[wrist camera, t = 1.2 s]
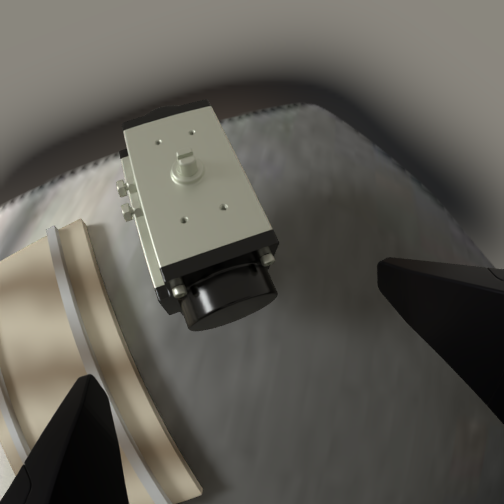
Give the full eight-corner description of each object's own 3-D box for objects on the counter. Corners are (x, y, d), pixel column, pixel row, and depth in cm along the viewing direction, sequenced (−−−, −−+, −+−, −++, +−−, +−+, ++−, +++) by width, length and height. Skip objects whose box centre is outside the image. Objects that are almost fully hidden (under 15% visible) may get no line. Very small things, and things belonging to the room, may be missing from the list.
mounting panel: (202, 488, 17) (201, 498, 15) (54, 526, 13) (43, 534, 12) (86, 225, 24) (77, 213, 22) (-31, 289, 20) (-43, 282, 18)
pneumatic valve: (204, 189, 26) (199, 68, 15) (261, 324, 22) (302, 264, 11) (140, 210, 24) (98, 97, 13) (186, 352, 21) (146, 321, 10)
